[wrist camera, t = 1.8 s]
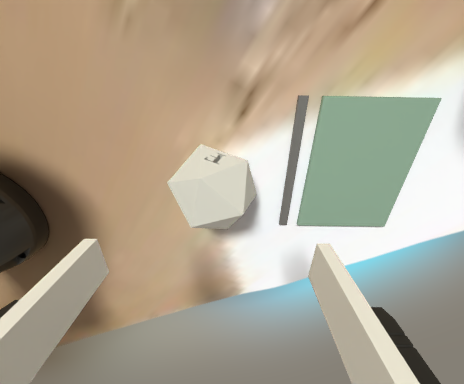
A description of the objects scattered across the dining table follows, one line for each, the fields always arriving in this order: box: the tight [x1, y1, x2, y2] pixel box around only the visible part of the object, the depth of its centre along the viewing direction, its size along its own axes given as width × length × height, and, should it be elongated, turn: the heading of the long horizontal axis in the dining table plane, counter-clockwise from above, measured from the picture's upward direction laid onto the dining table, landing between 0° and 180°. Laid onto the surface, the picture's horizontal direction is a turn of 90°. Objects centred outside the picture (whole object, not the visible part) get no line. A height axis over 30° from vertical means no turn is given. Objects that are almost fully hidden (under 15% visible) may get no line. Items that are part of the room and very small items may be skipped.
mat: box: [297, 96, 441, 227], centre depth 23 cm, size 12×16×1 cm
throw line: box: [279, 96, 309, 225], centre depth 23 cm, size 1×16×1 cm, turn 179°
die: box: [167, 144, 257, 229], centre depth 21 cm, size 8×9×10 cm
